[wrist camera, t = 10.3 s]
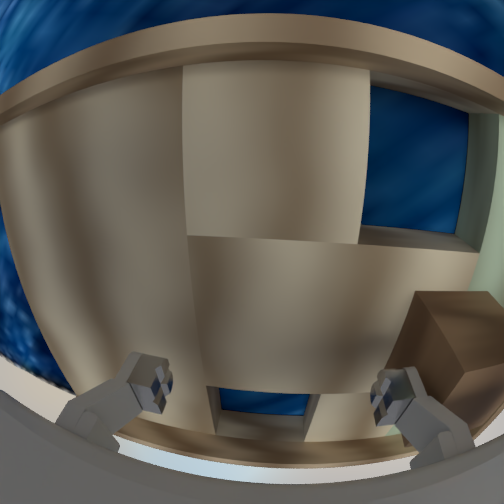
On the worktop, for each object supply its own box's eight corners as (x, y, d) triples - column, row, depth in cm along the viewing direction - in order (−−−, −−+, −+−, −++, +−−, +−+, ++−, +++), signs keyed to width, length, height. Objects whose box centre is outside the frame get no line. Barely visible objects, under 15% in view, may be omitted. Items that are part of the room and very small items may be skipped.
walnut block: (383, 369, 12) (404, 447, 8) (415, 290, 10) (465, 372, 6) (452, 362, 12) (482, 425, 7) (487, 291, 10) (538, 352, 5)
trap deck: (92, 383, 21) (67, 424, 16) (21, 111, 11) (-43, 120, 6) (447, 406, 17) (462, 450, 12) (544, 137, 8) (601, 153, 3)
